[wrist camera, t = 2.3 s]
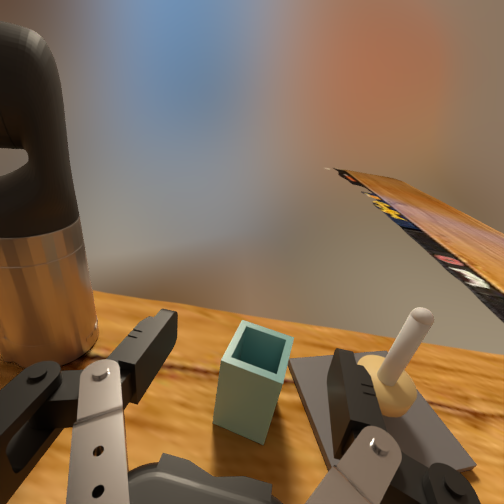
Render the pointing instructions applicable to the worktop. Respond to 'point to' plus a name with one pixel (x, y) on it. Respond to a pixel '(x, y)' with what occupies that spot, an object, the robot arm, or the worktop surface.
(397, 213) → the worktop surface
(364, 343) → the worktop surface
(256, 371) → the sleeve
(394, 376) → the pipe stand
